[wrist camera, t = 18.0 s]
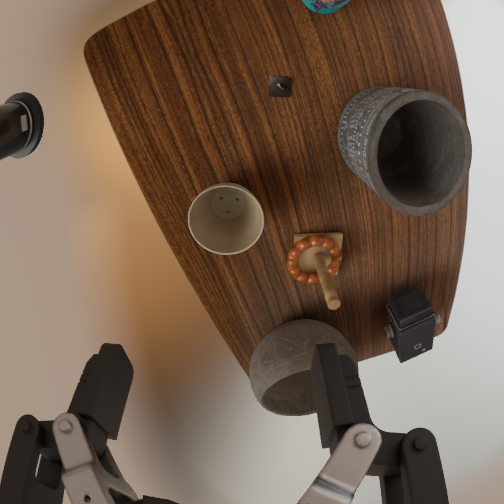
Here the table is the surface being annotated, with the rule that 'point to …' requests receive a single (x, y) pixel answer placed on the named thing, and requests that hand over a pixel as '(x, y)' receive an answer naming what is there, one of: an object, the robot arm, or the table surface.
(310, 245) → the ring
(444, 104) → the planter
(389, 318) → the camera
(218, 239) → the flower pot
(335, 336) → the bowl
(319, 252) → the stand
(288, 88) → the small square plate
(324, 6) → the beverage can
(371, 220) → the table surface
